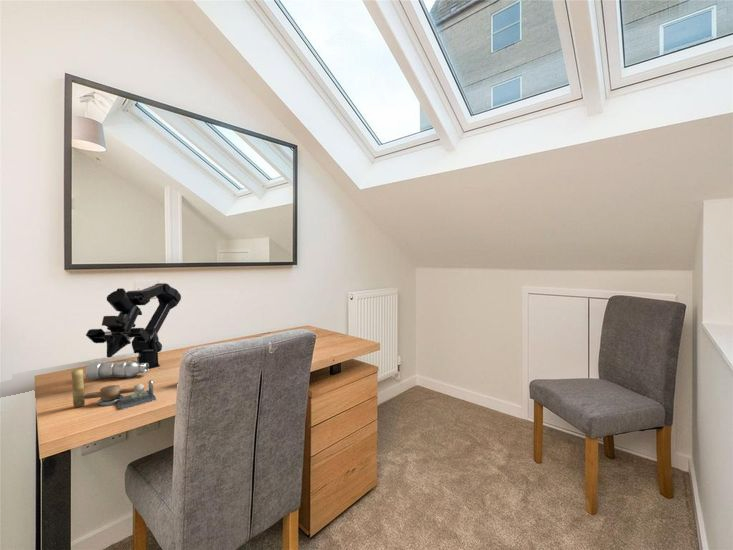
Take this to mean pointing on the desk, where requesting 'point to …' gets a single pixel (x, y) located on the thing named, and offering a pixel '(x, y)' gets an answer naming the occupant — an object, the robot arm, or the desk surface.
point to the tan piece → (104, 393)
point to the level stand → (131, 398)
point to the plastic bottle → (115, 369)
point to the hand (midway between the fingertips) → (108, 356)
